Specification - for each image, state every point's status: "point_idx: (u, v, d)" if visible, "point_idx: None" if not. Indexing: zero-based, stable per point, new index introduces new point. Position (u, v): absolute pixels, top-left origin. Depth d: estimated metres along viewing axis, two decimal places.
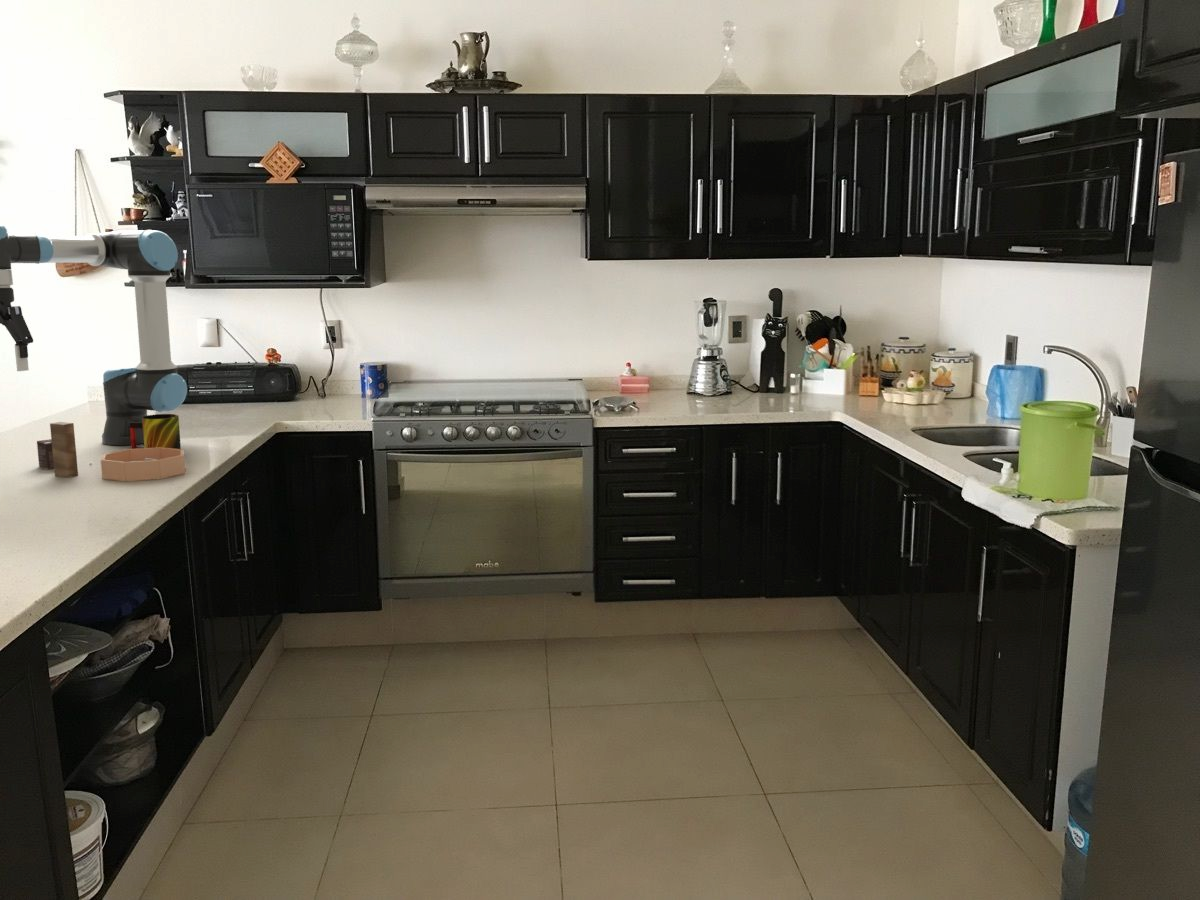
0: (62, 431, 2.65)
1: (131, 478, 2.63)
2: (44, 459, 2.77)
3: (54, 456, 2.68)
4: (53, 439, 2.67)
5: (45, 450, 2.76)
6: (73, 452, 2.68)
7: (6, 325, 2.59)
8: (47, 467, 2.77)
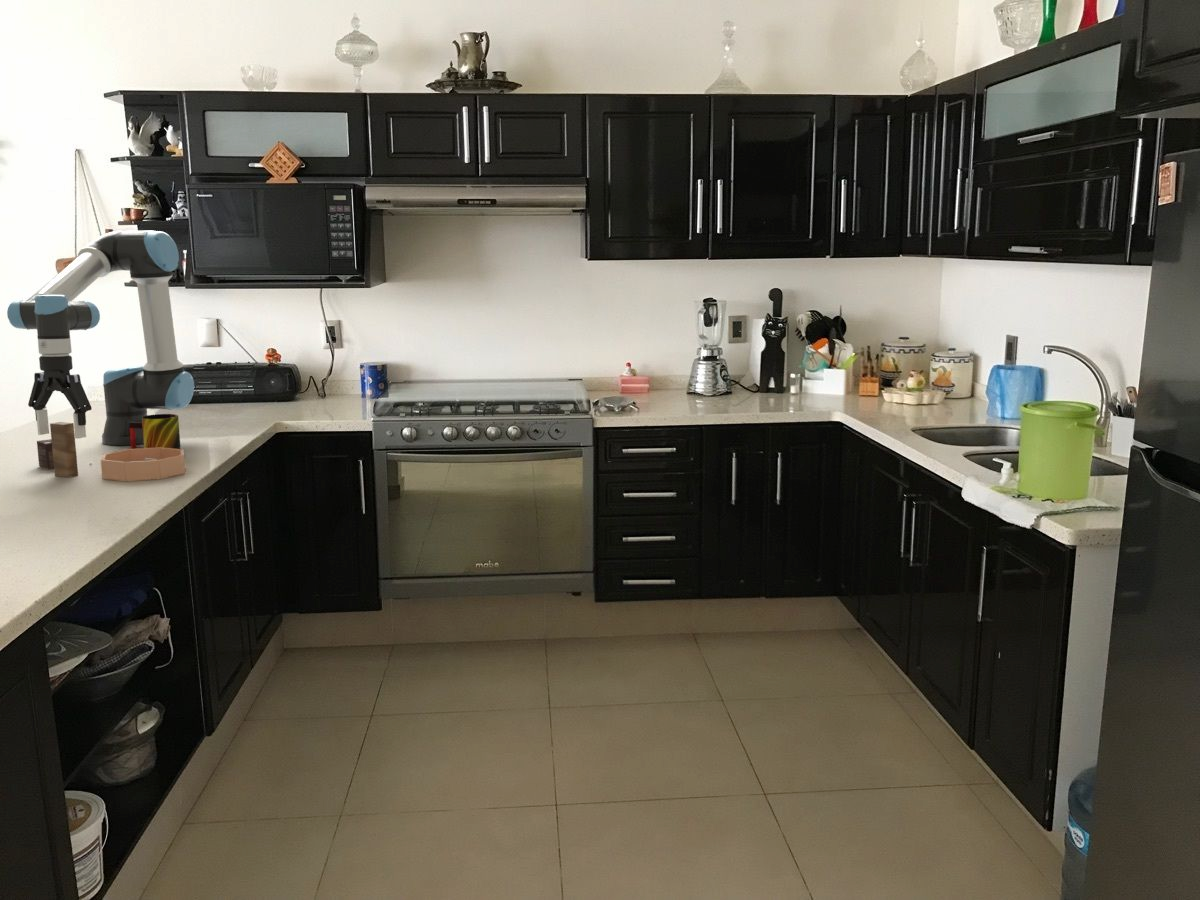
0: (62, 431, 2.65)
1: (131, 478, 2.63)
2: (44, 459, 2.77)
3: (54, 456, 2.68)
4: (53, 439, 2.67)
5: (45, 450, 2.76)
6: (73, 452, 2.68)
7: (65, 393, 2.62)
8: (47, 467, 2.77)
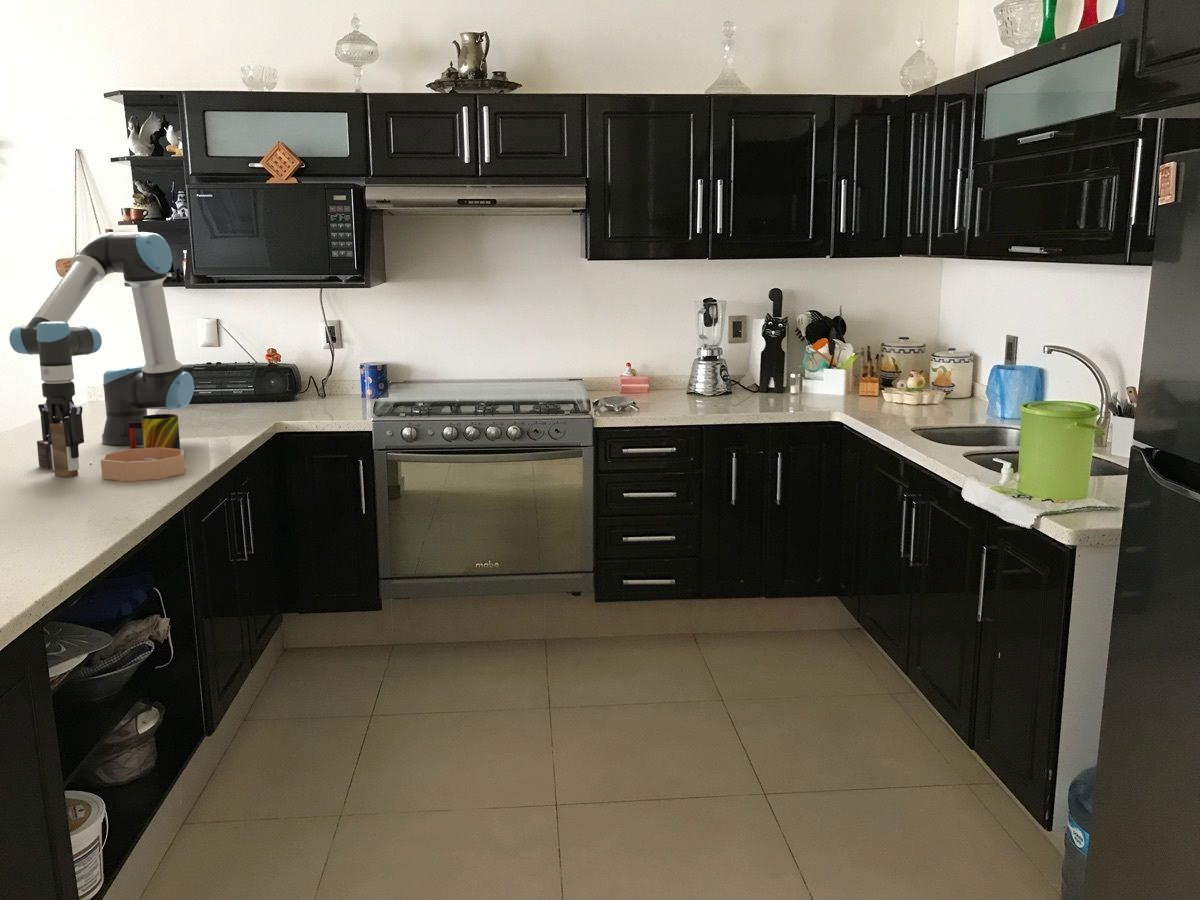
0: (62, 431, 2.65)
1: (131, 478, 2.63)
2: (44, 459, 2.77)
3: (54, 456, 2.68)
4: (53, 439, 2.67)
5: (45, 450, 2.76)
6: None
7: (63, 422, 2.65)
8: (47, 467, 2.77)
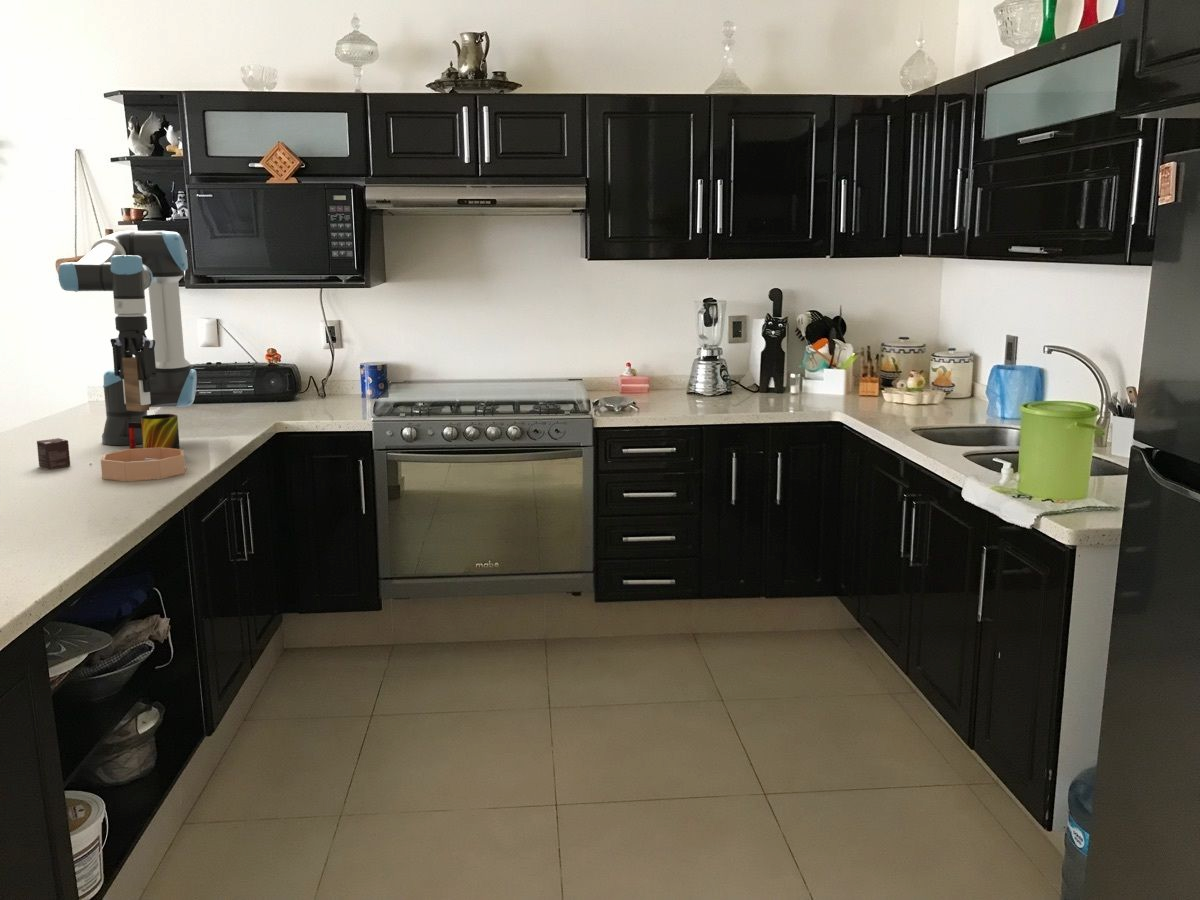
0: (134, 365, 2.65)
1: (131, 478, 2.63)
2: (44, 459, 2.77)
3: (126, 390, 2.68)
4: (125, 373, 2.67)
5: (45, 450, 2.76)
6: None
7: (136, 356, 2.65)
8: (47, 467, 2.77)
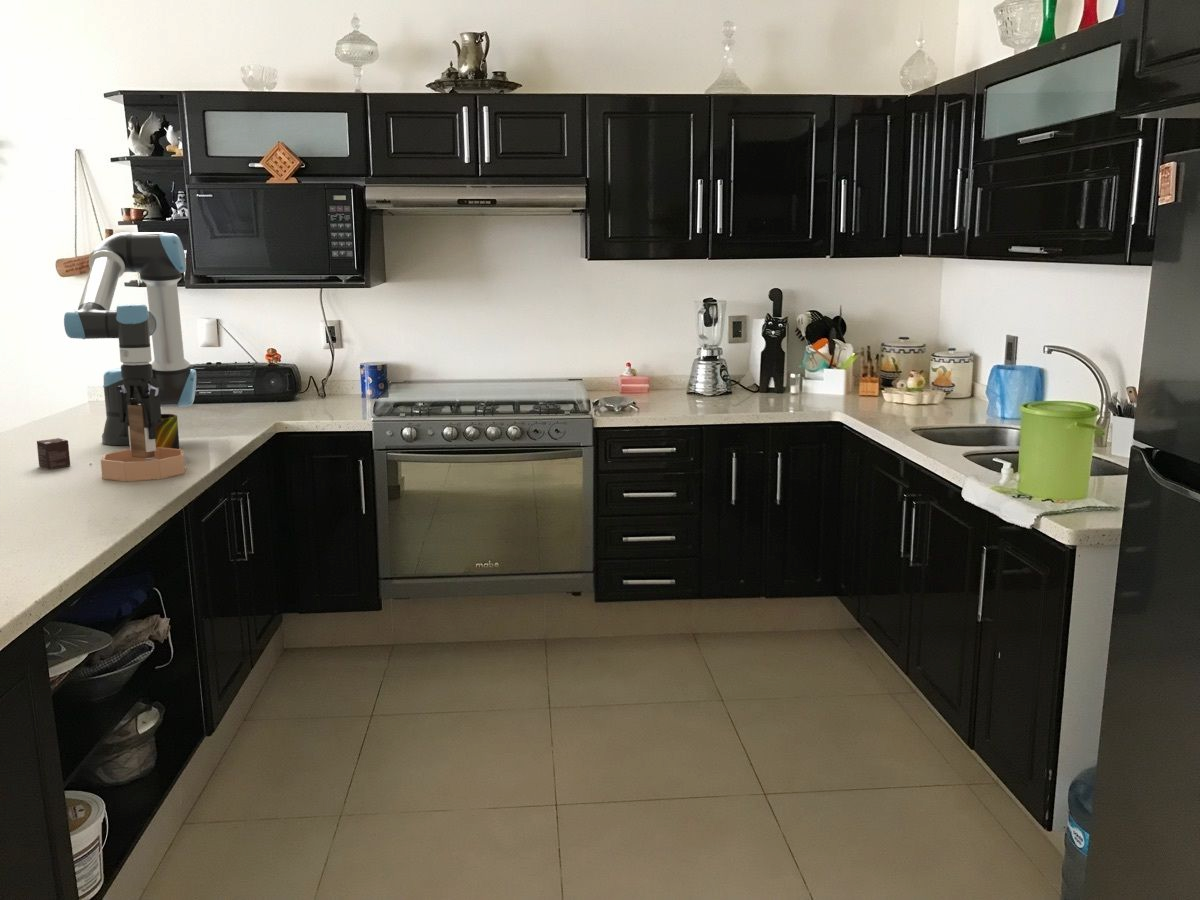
0: (140, 413, 2.68)
1: (131, 478, 2.63)
2: (44, 459, 2.77)
3: (131, 437, 2.70)
4: (131, 420, 2.69)
5: (45, 450, 2.76)
6: None
7: (142, 404, 2.67)
8: (47, 467, 2.77)
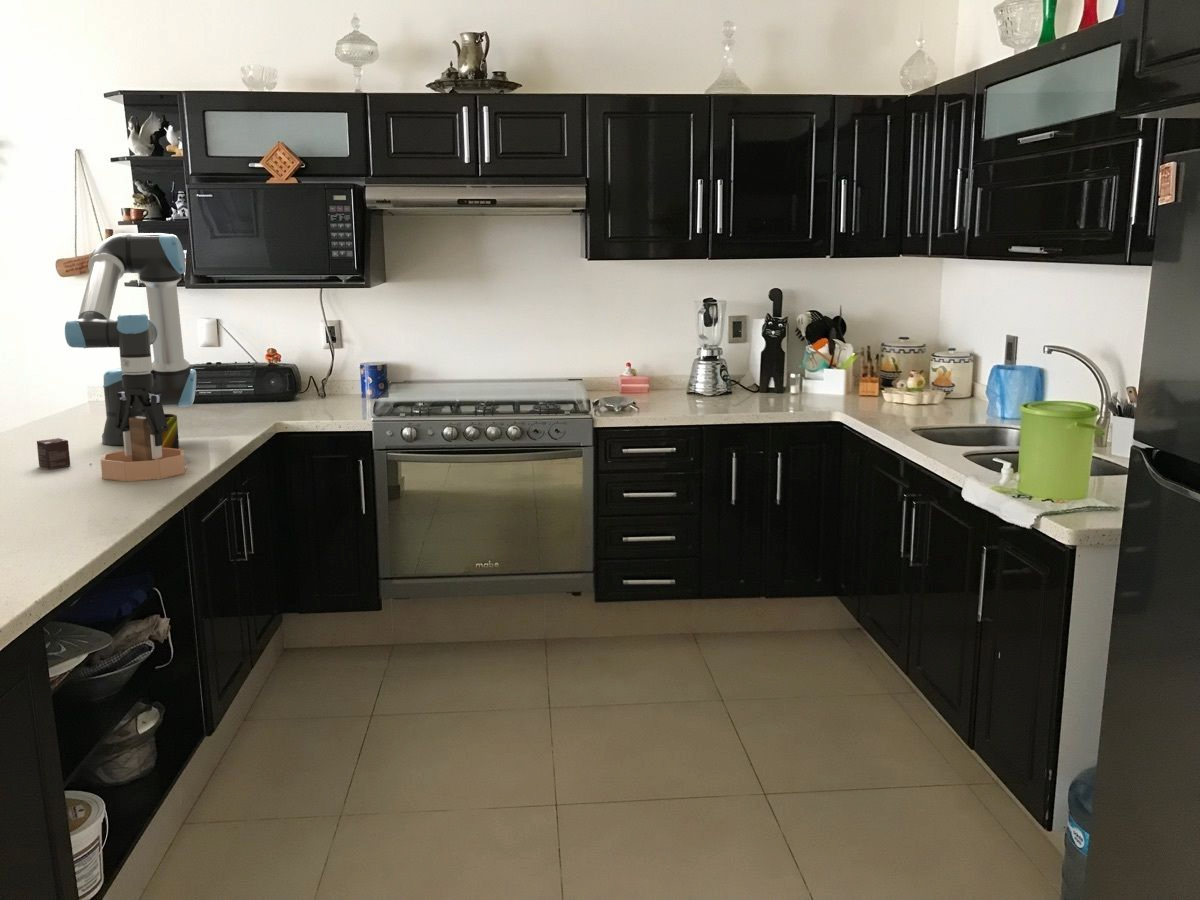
0: (141, 426, 2.68)
1: (131, 478, 2.63)
2: (44, 459, 2.77)
3: (133, 450, 2.71)
4: (132, 433, 2.70)
5: (45, 450, 2.76)
6: None
7: (145, 412, 2.67)
8: (47, 467, 2.77)
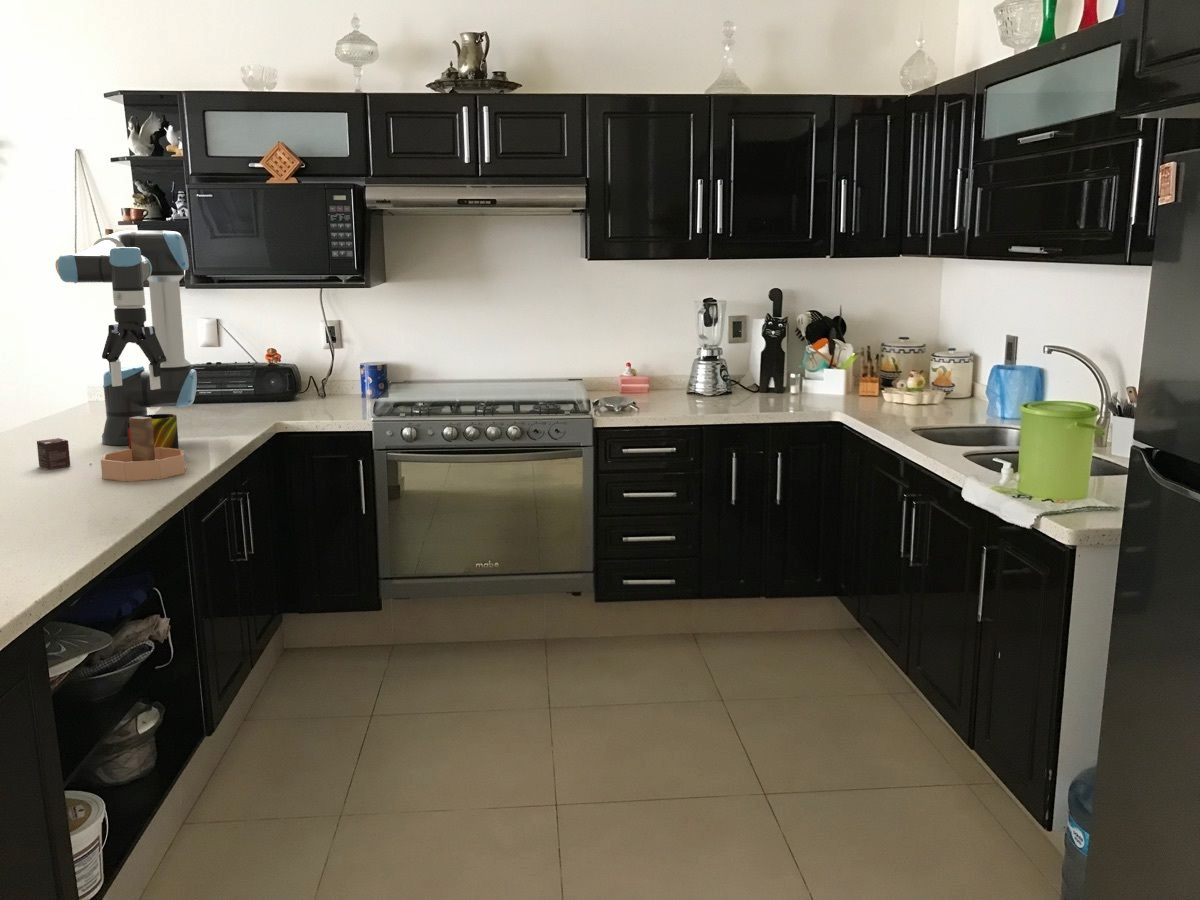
0: (141, 426, 2.68)
1: (131, 478, 2.63)
2: (44, 459, 2.77)
3: (133, 450, 2.71)
4: (132, 433, 2.70)
5: (45, 450, 2.76)
6: (151, 446, 2.71)
7: (140, 345, 2.66)
8: (47, 467, 2.77)
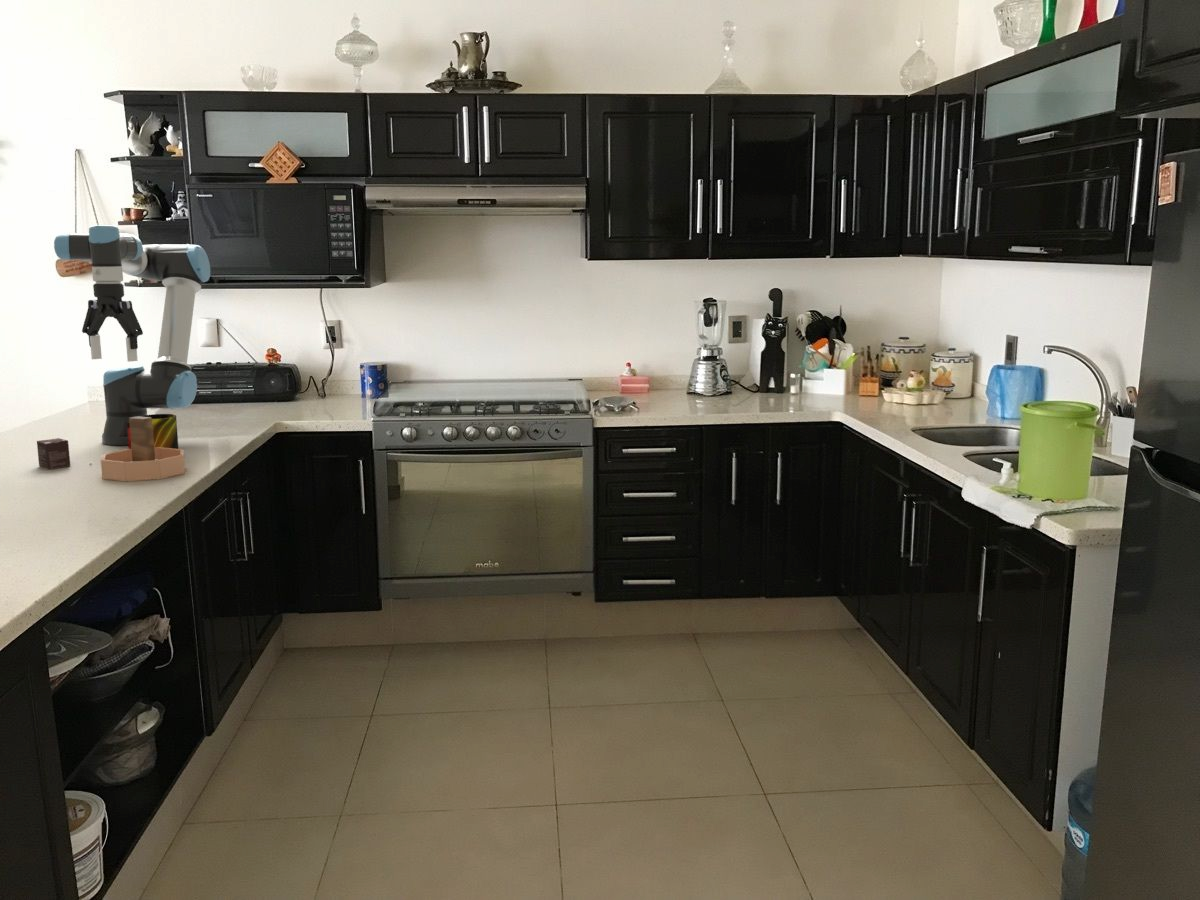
0: (141, 426, 2.68)
1: (131, 478, 2.63)
2: (44, 459, 2.77)
3: (133, 450, 2.71)
4: (132, 433, 2.70)
5: (45, 450, 2.76)
6: (151, 446, 2.71)
7: (118, 318, 2.78)
8: (47, 467, 2.77)
